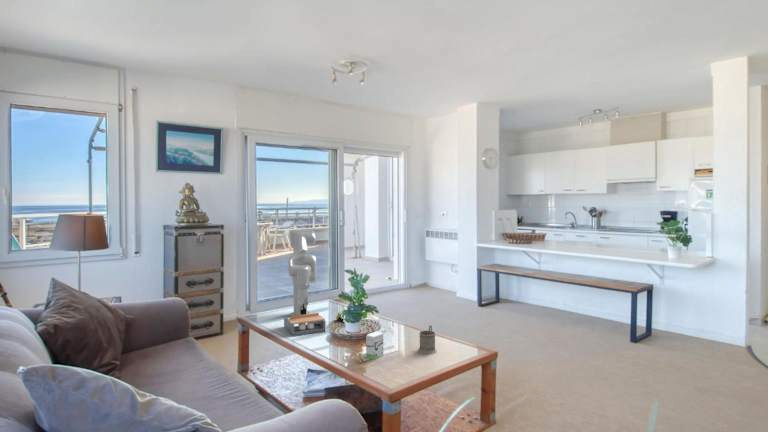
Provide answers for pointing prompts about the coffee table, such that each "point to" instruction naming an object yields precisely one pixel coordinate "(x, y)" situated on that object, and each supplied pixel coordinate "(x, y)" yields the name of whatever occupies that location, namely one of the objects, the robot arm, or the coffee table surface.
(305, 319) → the lid
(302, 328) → the peg
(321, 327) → the housing
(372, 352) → the ink box
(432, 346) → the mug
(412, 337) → the coffee table surface
